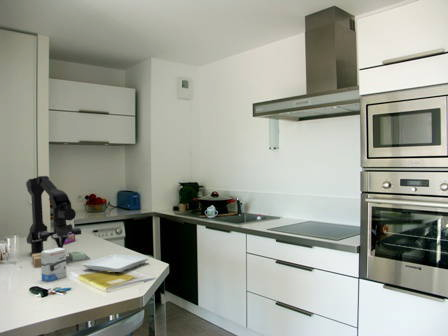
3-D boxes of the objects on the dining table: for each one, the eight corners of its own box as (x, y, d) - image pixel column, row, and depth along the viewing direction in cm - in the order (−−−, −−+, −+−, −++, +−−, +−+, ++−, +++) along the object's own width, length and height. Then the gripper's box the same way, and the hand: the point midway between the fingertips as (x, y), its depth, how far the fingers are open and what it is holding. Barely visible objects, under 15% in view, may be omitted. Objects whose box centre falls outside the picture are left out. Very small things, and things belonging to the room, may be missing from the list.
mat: (59, 257, 191) (59, 257, 191) (84, 254, 198) (84, 253, 198) (64, 263, 181) (64, 262, 181) (90, 259, 187) (90, 258, 187)
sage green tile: (80, 250, 195) (81, 255, 195) (68, 251, 191) (68, 256, 192) (85, 253, 187) (85, 258, 187) (72, 255, 184) (72, 260, 184)
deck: (32, 262, 184) (31, 254, 184) (60, 258, 191) (60, 250, 191) (35, 267, 174) (34, 259, 174) (65, 263, 181) (65, 254, 181)
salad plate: (114, 259, 186) (114, 252, 186) (149, 264, 177) (149, 256, 177) (80, 271, 167) (80, 263, 167) (118, 276, 158) (118, 268, 158)
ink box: (48, 282, 152) (47, 252, 152) (41, 280, 155) (40, 251, 154) (67, 276, 159) (66, 248, 159) (60, 274, 162) (59, 247, 162)
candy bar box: (68, 240, 234) (67, 214, 234) (75, 240, 233) (74, 214, 233) (56, 244, 223) (55, 216, 223) (64, 245, 222) (63, 216, 222)
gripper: (41, 223, 173) (42, 257, 173) (83, 218, 183) (84, 250, 184) (37, 220, 182) (38, 252, 183) (78, 216, 193) (79, 246, 193)
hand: (60, 250), depth 185 cm, fingers closed
